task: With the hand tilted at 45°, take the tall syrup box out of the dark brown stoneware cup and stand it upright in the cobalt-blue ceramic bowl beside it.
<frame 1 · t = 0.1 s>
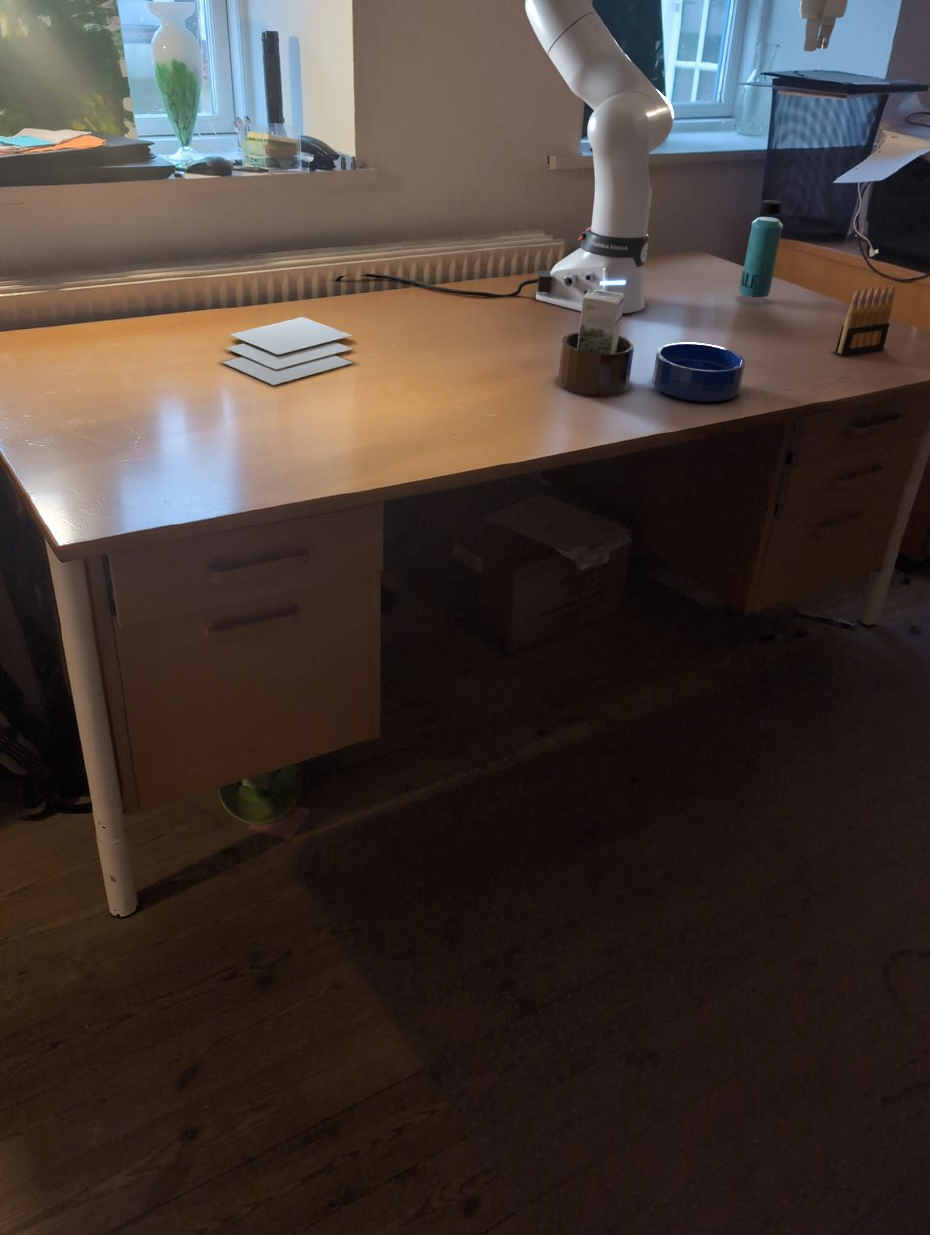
hand: (815, 50, 169), 48 cm above the table, tool pointing down, fingers open, 8 cm apart
ammunition clip: (858, 352, 189), on the table
syrup box: (593, 383, 167), resting on cup
beverage bottle: (752, 301, 215), on the table
bowl: (694, 388, 167), on the table
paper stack: (289, 351, 174), on the table
cup: (593, 384, 167), on the table
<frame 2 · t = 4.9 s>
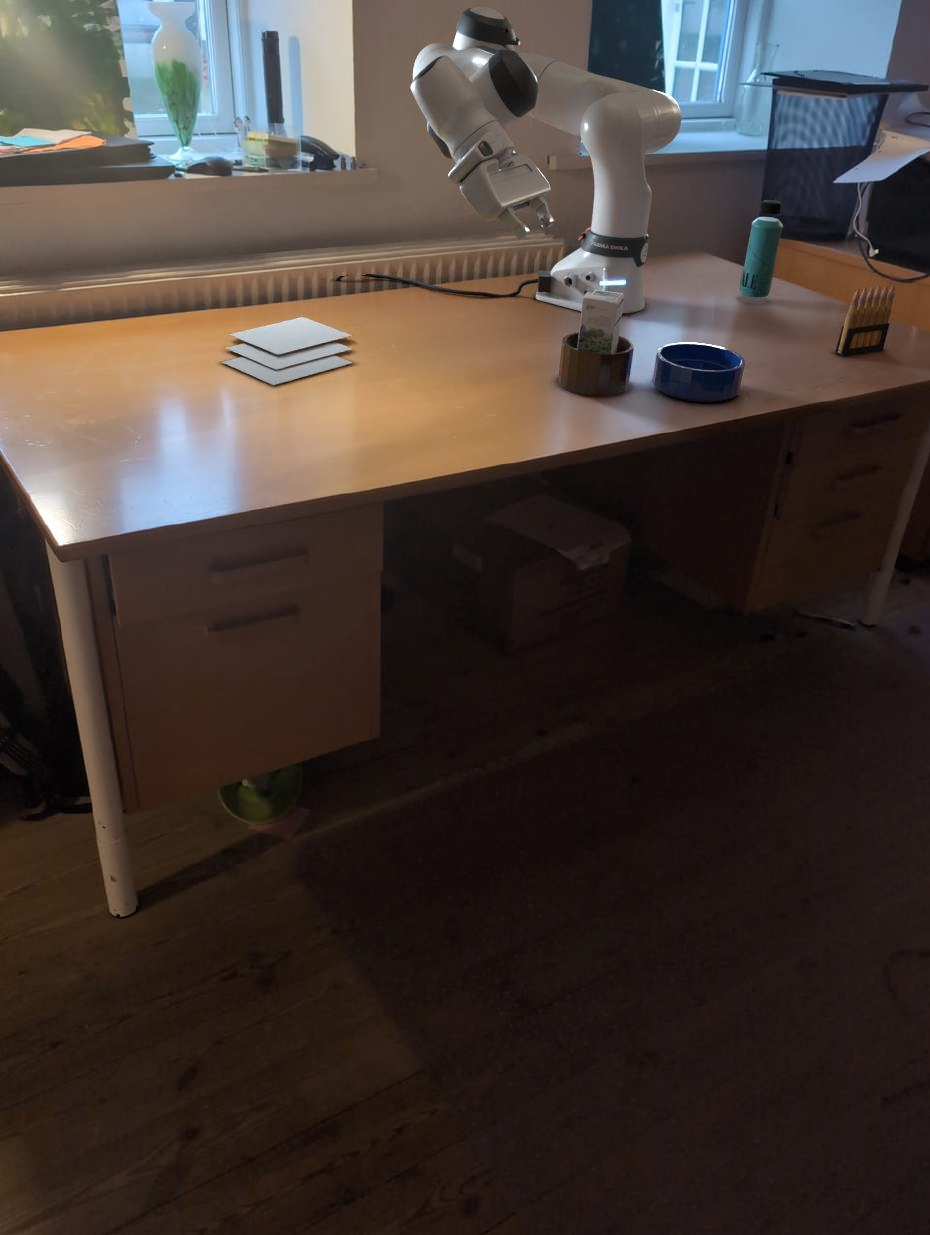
hand: (537, 231, 159), 23 cm above the table, tool tilted 45°, fingers open, 8 cm apart
nothing on the table moved.
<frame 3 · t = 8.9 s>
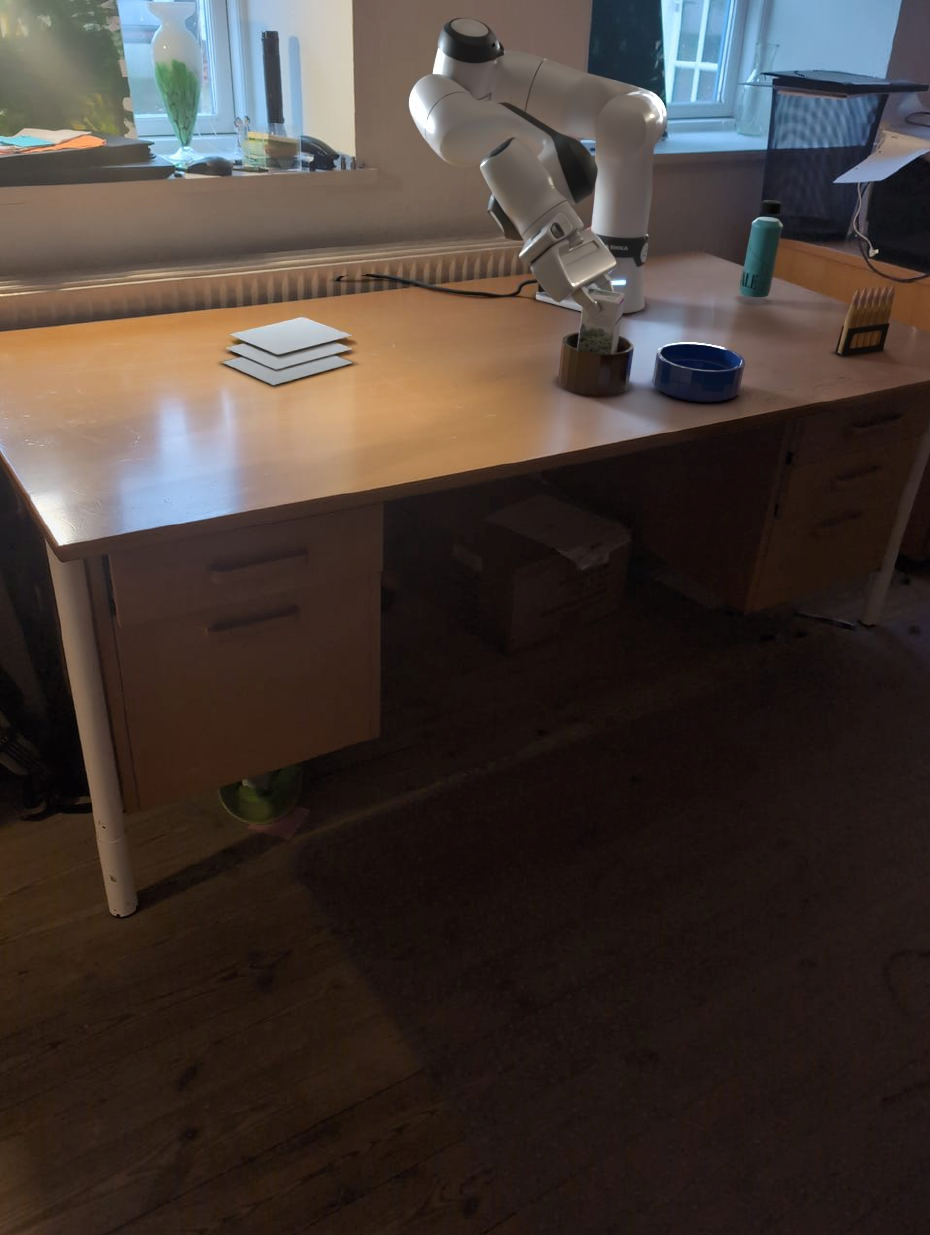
hand: (605, 308, 160), 13 cm above the table, tool tilted 45°, fingers closed on syrup box, 6 cm apart
syrup box: (593, 383, 167), resting on cup, touching gripper
everything else where it was.
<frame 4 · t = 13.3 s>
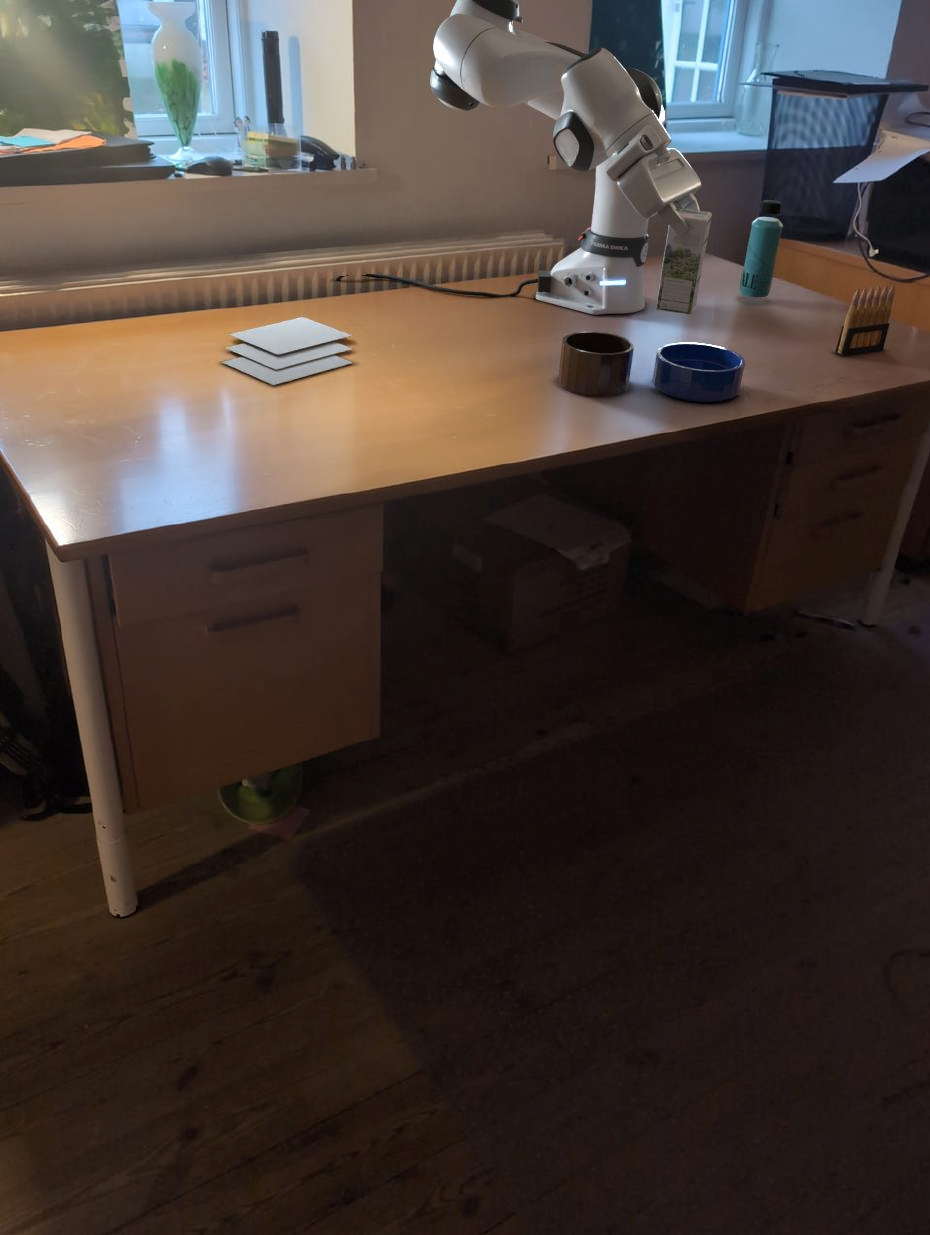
hand: (692, 228, 153), 25 cm above the table, tool tilted 45°, fingers closed on syrup box, 6 cm apart
syrup box: (675, 309, 160), point 13 cm above the table, touching gripper
everything else where it was.
when the fingers open (13 cm above the table, at t = 17.9 s): syrup box stays where it is, resting on bowl.
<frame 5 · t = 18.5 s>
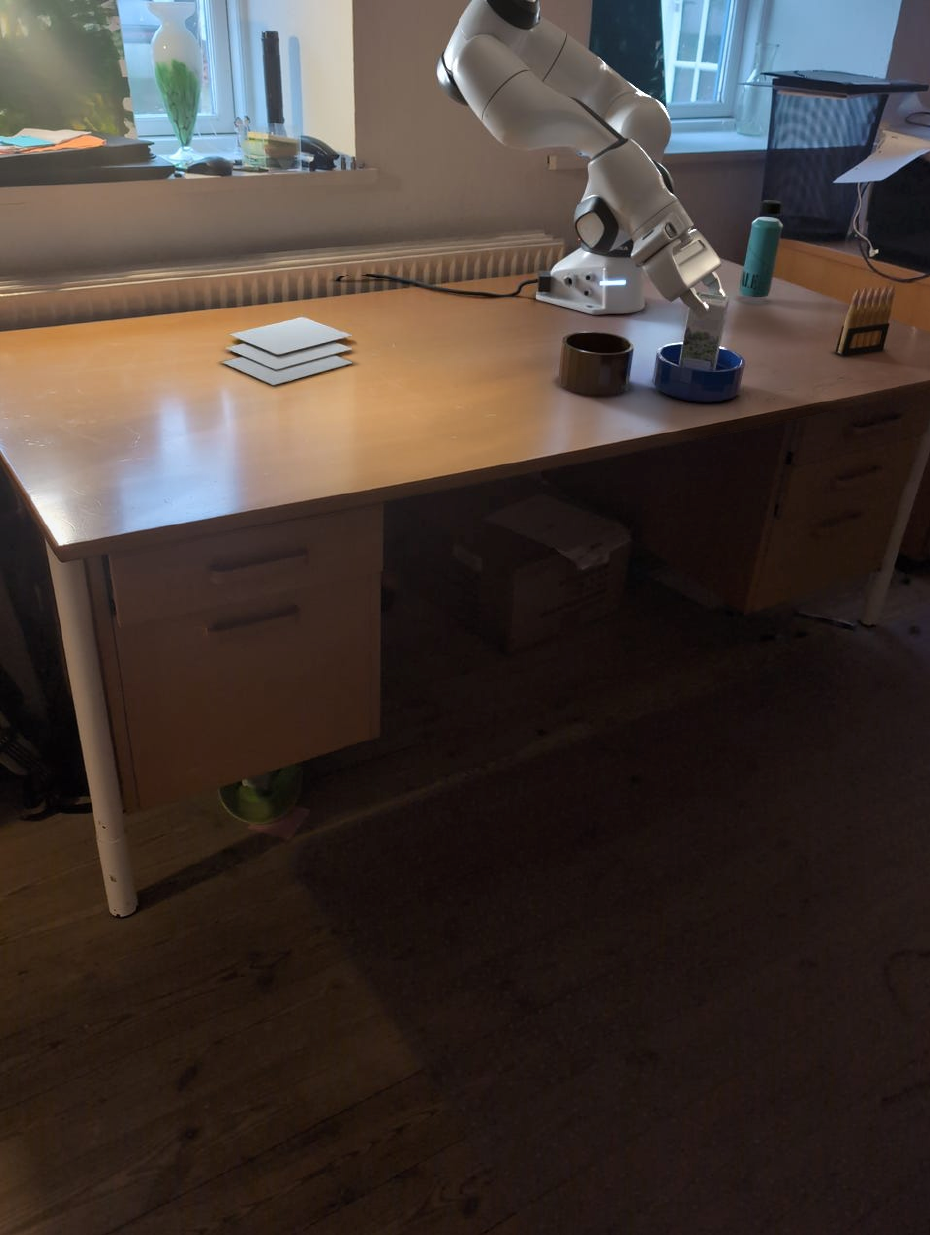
hand: (713, 308, 160), 13 cm above the table, tool tilted 45°, fingers open, 8 cm apart
syrup box: (694, 386, 167), resting on bowl
everything else where it was.
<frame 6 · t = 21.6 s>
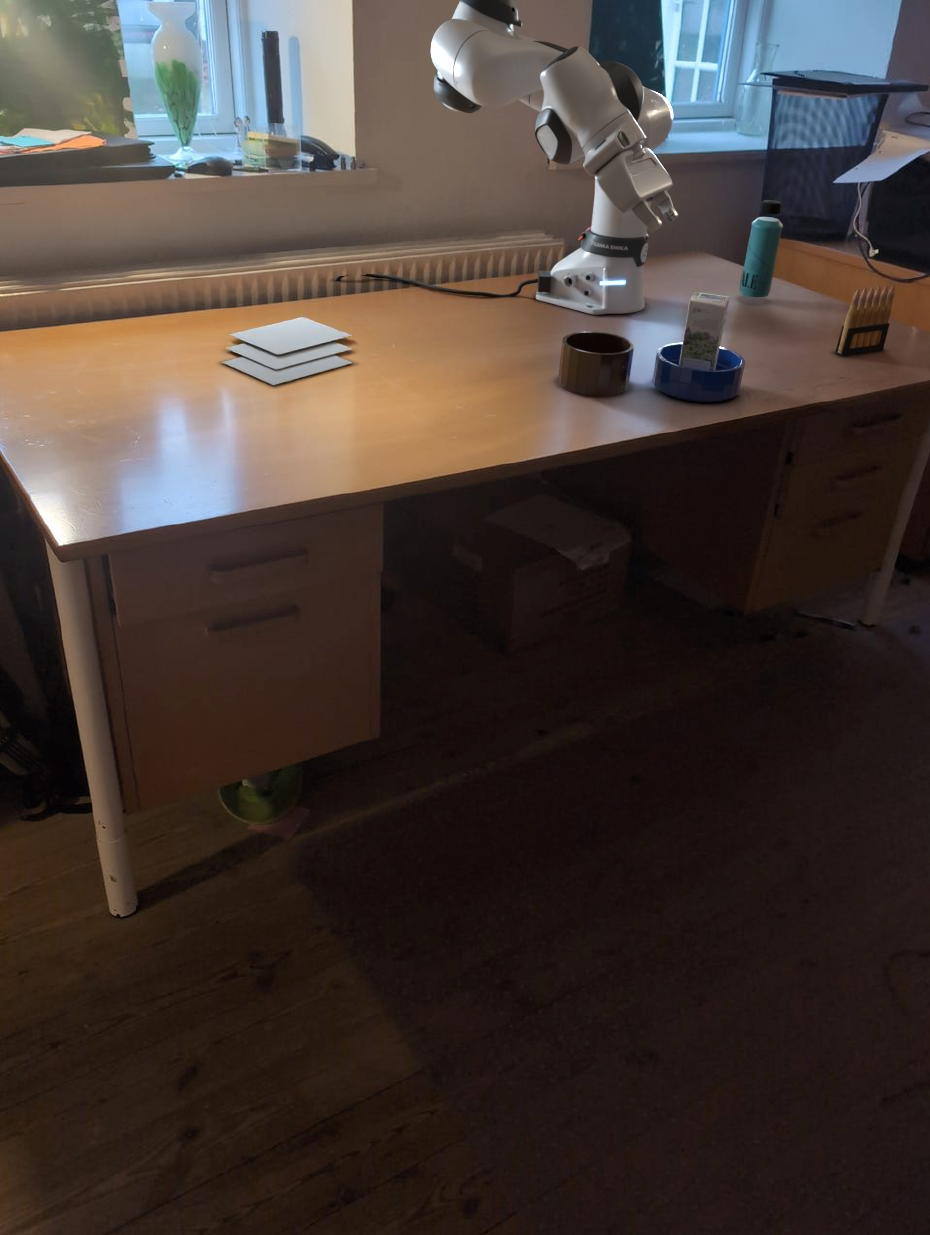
hand: (665, 225, 158), 25 cm above the table, tool tilted 45°, fingers open, 8 cm apart
nothing on the table moved.
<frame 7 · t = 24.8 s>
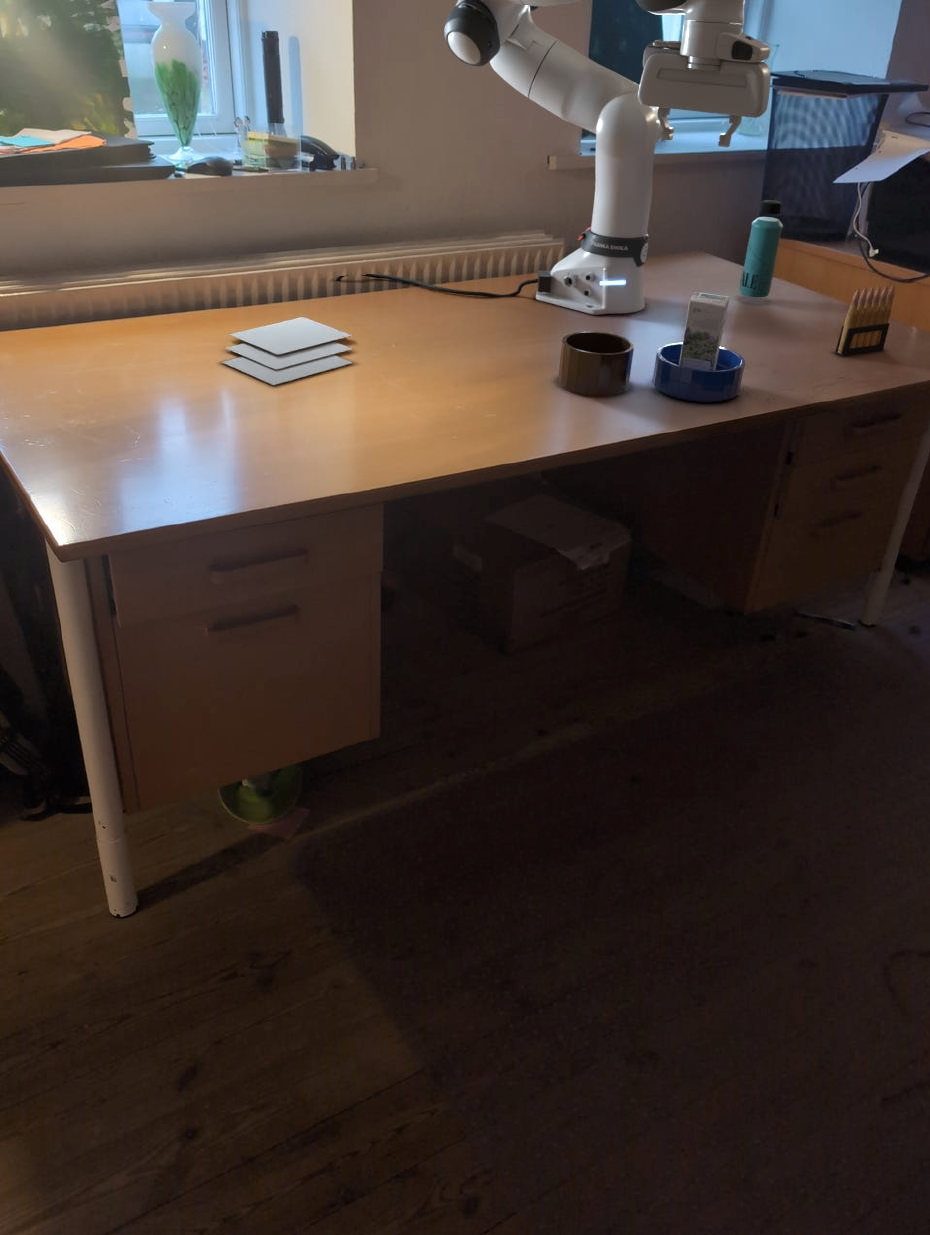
hand: (694, 143, 161), 35 cm above the table, tool pointing down, fingers open, 8 cm apart
nothing on the table moved.
at the end: syrup box inside the target area in the bowl (0.2 cm from its centre), point 0.4 cm above the bowl's base; syrup box tilted 0°; the gripper is holding nothing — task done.
